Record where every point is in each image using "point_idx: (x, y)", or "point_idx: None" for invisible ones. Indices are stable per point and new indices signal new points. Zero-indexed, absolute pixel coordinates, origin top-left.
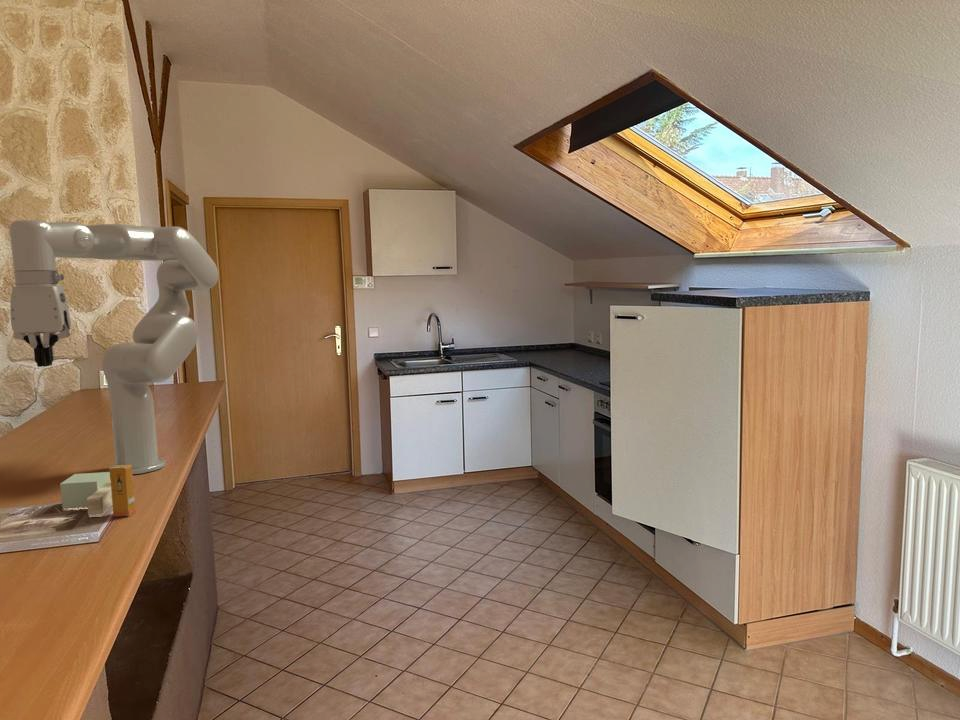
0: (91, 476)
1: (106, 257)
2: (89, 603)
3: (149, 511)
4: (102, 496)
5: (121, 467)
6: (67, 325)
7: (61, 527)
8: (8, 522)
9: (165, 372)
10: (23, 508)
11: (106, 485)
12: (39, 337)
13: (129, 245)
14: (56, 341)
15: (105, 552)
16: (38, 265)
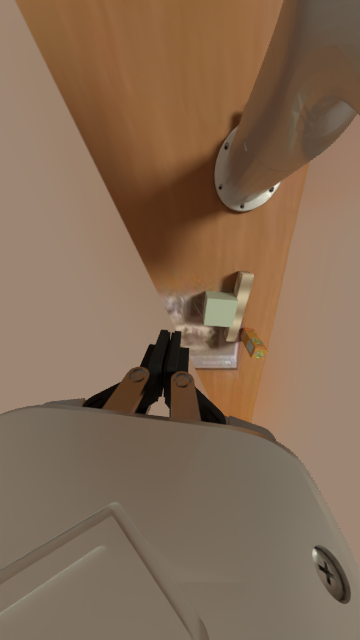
0: (224, 311)
1: None
2: (242, 415)
3: (262, 331)
4: (236, 338)
5: (260, 358)
6: (291, 477)
7: (210, 343)
8: (174, 326)
9: None
10: (171, 299)
11: (235, 313)
12: (134, 408)
13: None
14: (207, 404)
15: (242, 380)
16: None
